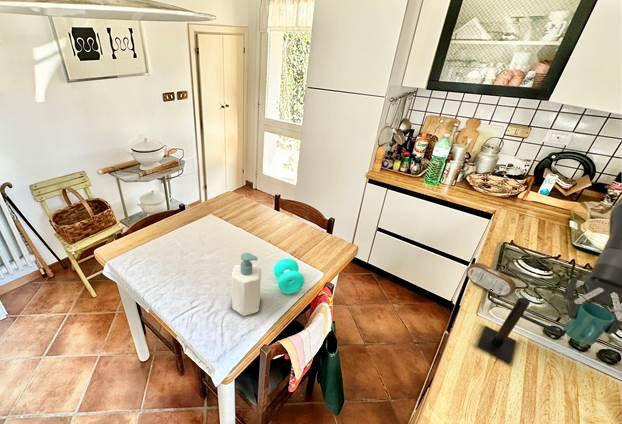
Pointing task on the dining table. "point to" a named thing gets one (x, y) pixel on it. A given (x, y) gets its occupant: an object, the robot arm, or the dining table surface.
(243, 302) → the soap bottle
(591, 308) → the mug
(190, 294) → the dining table surface
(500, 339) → the mug stand
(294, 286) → the turquoise dumbbell
